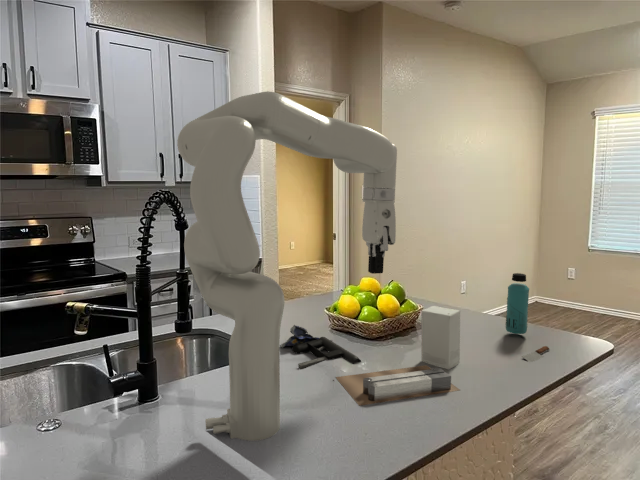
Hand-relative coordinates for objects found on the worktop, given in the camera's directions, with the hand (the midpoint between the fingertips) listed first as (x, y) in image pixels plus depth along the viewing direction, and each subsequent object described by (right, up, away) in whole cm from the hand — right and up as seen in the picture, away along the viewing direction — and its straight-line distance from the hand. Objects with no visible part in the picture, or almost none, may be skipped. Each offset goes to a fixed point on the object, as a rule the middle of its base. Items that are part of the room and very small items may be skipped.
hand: (375, 272), depth 113 cm
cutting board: (+5, -27, -2) cm, 28 cm away
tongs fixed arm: (+7, -27, -7) cm, 28 cm away
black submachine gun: (-13, -26, +16) cm, 33 cm away
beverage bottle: (+49, -23, +36) cm, 65 cm away
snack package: (-19, -24, +29) cm, 42 cm away
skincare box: (+18, -26, +11) cm, 34 cm away
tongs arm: (+6, -26, -5) cm, 27 cm away
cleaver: (+49, -25, +19) cm, 58 cm away
